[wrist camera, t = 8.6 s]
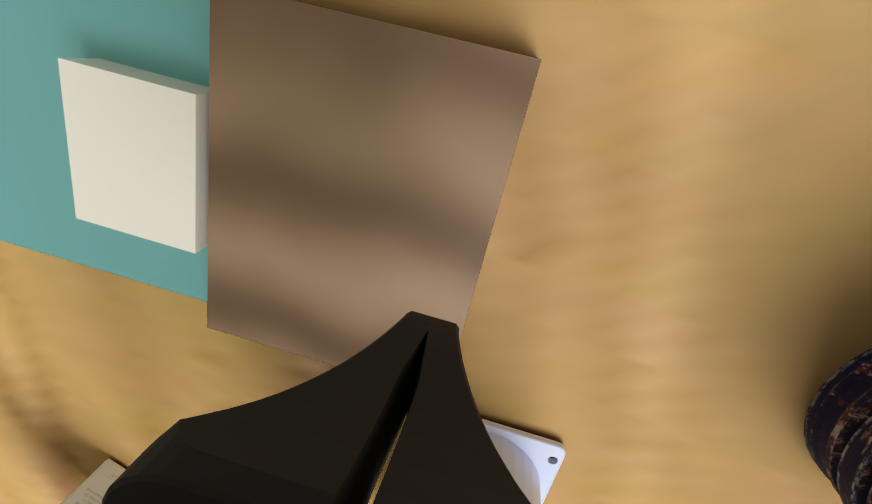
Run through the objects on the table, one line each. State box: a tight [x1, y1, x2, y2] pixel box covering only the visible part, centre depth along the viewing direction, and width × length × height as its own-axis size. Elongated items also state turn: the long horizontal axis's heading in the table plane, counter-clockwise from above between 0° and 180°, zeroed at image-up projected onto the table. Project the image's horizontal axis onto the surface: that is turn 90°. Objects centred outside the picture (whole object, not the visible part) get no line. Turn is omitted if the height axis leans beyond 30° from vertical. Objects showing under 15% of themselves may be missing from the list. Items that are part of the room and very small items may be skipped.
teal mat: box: [0, 0, 210, 301], centre depth 22 cm, size 15×14×1 cm
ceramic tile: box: [58, 58, 209, 253], centre depth 20 cm, size 7×6×2 cm
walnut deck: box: [207, 0, 541, 366], centre depth 20 cm, size 15×12×2 cm
